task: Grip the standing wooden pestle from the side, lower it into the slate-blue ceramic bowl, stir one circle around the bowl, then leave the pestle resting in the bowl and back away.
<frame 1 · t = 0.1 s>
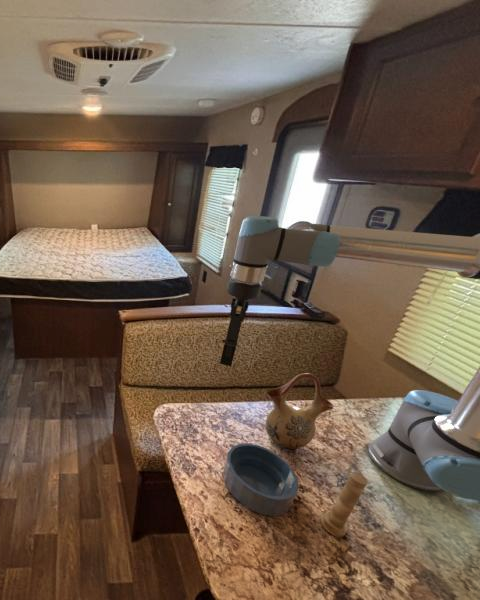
hand: (228, 352, 87), 28 cm above the table, tool pointing down, fingers open, 13 cm apart
ceramic vessel: (283, 443, 94), on the table
wooden pestle: (333, 526, 72), on the table
bowl: (255, 486, 80), on the table
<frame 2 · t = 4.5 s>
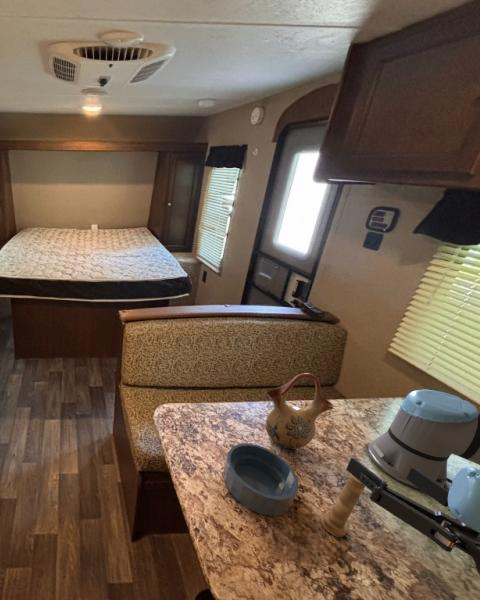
hand: (380, 468, 63), 20 cm above the table, tool horizontal, fingers open, 13 cm apart
nothing on the table moved.
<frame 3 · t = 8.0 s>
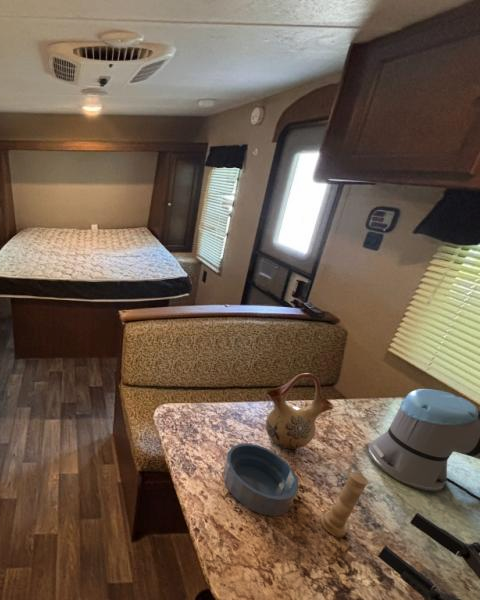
hand: (398, 533, 61), 10 cm above the table, tool horizontal, fingers open, 13 cm apart
nothing on the table moved.
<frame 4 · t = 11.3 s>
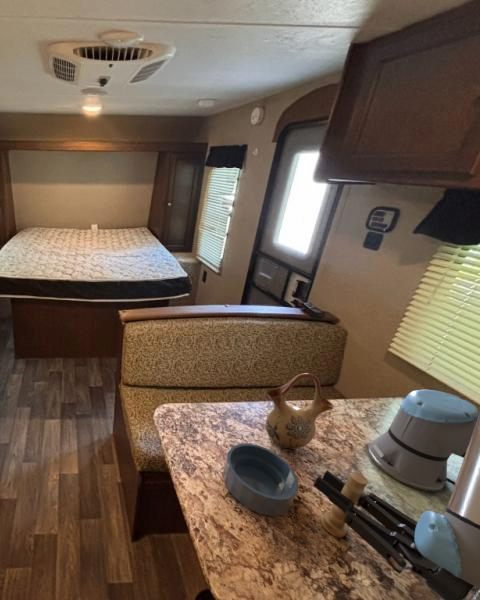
hand: (320, 478, 73), 10 cm above the table, tool horizontal, fingers closed on wooden pestle, 3 cm apart
wooden pestle: (333, 526, 72), on the table, touching gripper
everything else where it was.
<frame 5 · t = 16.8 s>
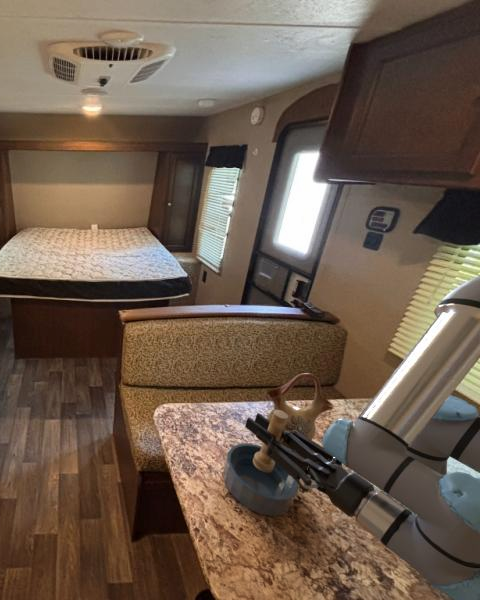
hand: (252, 420, 78), 17 cm above the table, tool horizontal, fingers closed on wooden pestle, 3 cm apart
wooden pestle: (262, 464, 77), point 8 cm above the table, touching gripper
everything else where it was.
when the fingers open (10 cm above the table, at t = 22.5 s): wooden pestle stays where it is, resting on bowl.
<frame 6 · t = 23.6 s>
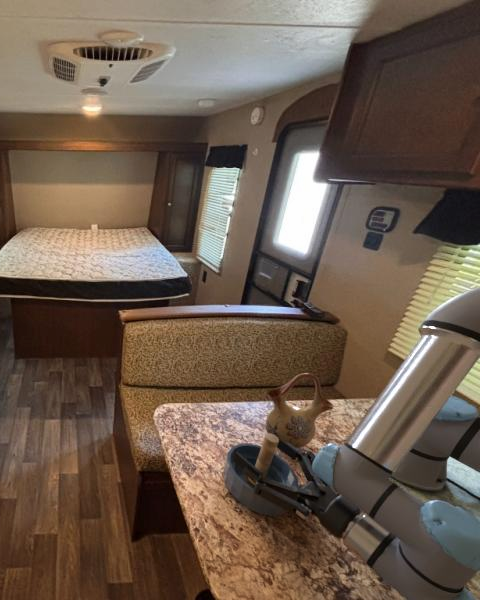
hand: (253, 446, 79), 11 cm above the table, tool horizontal, fingers open, 13 cm apart
wooden pestle: (255, 484, 80), point 1 cm above the table, touching bowl
bowl: (255, 486, 80), on the table, touching wooden pestle
everything else where it was.
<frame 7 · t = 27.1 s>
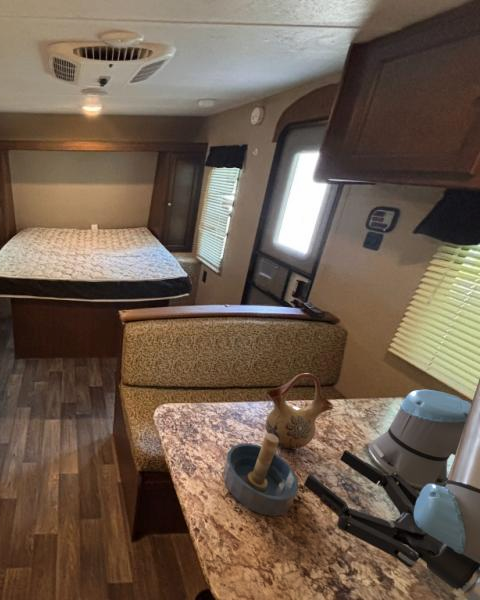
hand: (325, 466, 66), 17 cm above the table, tool horizontal, fingers open, 13 cm apart
nothing on the table moved.
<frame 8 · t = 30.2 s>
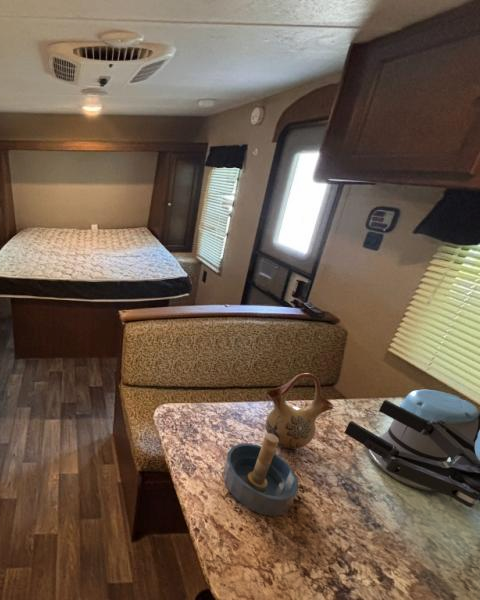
hand: (365, 415, 63), 30 cm above the table, tool horizontal, fingers open, 13 cm apart
nothing on the table moved.
at the end: wooden pestle 0.1 cm from the bowl (horizontally); bowl moved 0.0 cm from its start; the gripper is holding nothing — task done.
